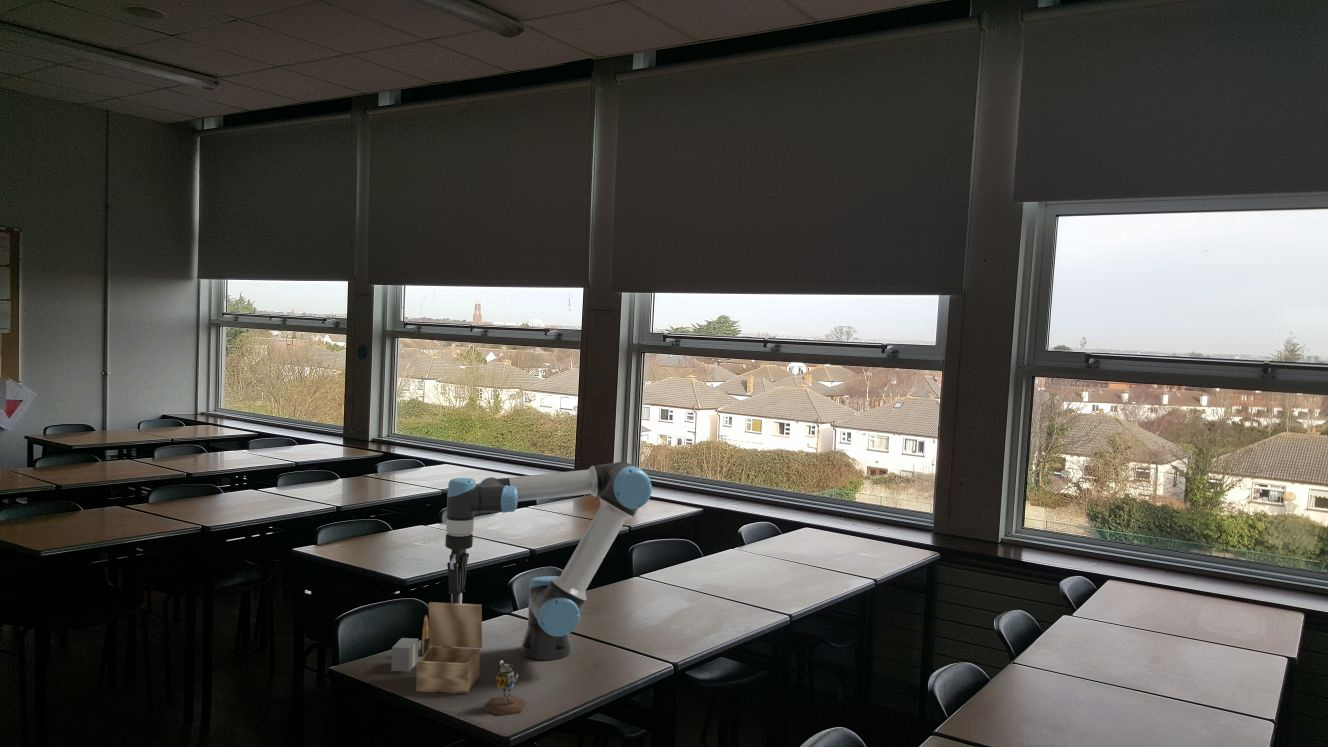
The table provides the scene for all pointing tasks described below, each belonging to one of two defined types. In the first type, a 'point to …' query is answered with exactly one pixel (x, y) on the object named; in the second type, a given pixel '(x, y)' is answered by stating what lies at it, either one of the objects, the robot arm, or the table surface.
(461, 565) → the robot arm
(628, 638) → the table surface
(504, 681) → the robot figurine
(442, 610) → the lid
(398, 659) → the grey taped box
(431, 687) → the crate
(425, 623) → the ammunition clip
